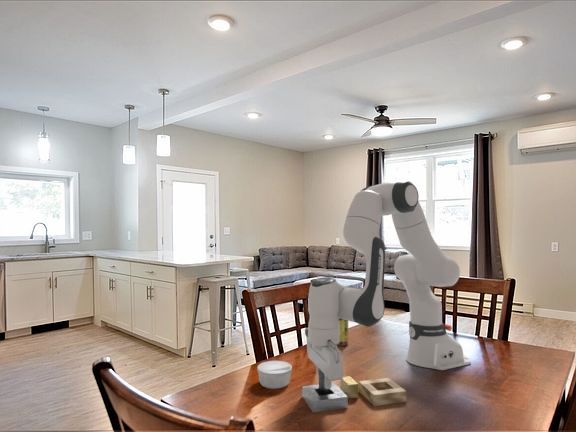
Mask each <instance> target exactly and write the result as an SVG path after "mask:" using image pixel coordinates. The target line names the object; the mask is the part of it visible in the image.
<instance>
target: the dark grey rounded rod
mask: <svg viewBox="0 0 576 432" xmlns="http://www.w3.org/2000/svg"><path fill="white" fill-rule="evenodd" d="M323 381H325V376H324V373H323V372H322V371H321V370H320V369H319V380H318V384H319V396H321V395H329V394H330V389H325V387H324V383H323Z"/></svg>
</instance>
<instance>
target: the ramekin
mask: <svg viewBox="0 0 576 432" xmlns="http://www.w3.org/2000/svg"><path fill="white" fill-rule="evenodd" d="M256 370H257V373H258V374H257V375H258V381H259V383H260V385H261V386H262V387H264V388H266V389H270V390H271V389H272V390H274V389H281V388H285V387H287V386H288V385H289V383H290V382H291V375H292V370H293V366H292V365H291V364H290V363H289V362H287V361H282V360H268V361H264V362H261V363H259V364H258V365H257V369H256Z"/></svg>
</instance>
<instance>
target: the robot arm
mask: <svg viewBox="0 0 576 432" xmlns="http://www.w3.org/2000/svg"><path fill="white" fill-rule="evenodd" d="M349 205H350V206H349V208H348V211H347V215H346V217H345V221H344V224H343V229H342V231H343V232H342V235H343V238H344V241H345V242H346V244H348V246H349V247H350V248H352V249H353V250H355V251H357V252H358V253H360V254H363V255H364V258H365V260H366V266H365V278H364V286H363V288H356V287H350V286H349V287H348V286H345V285H342V284H341V283H339V282H338V281H337V279H336V278H333V277H332V276H331V277H330V276H329V277H328V276H325V277H319V278H315V279H314V280H312V281H311V283H310V285H309V289H308V290H309V291H308V298H307V301H308V302H307V303H308V305H307V307H308V308H307V311H308V315H309V320H308V327H305V329H304V335H305V336H306V351H307V355H308V358H309V360H310V361H311V362H312V363H313V364H314V365H315V369H316V371H317V380H318V381H319V369H320V370H321V371H322V372H323V373H324V376H325V381H323V383H324V387H325V389H330V388H331V383H333V382H339V381H341V380H342V379H343V377H345V375H344V373H345V372H344V363H343V362H344V361H343V354H342V351H341V350H340V349H339V348H338V345H337V344H338V343H339V342H340V330H339V321H338V320H339V319H343V320H347V321H348V322H352V323H356V324H358V325H362V326H364V327H367V328H369V327H373V326H375V325H376V324H377V323H379V321H381V320H382V318H383V317H384V314H385V299H384V298H385V297H384V289H385V287H384V286H385V270H386V269H385V266H386V246H385V243H384V241H383V240H382V239H381V237H380V228H381V223H382V216H390V215H391V219H392V222H393V225H394V229H395V231H396V235H397V237H398V240H399V243H400V246H401V247H402V248H403V249H404V250H405V251H407V252H408V253H410V254H404V255H400V256H397V259H395V262H394V265H393V270H394V274H395V276H396V277H397V278H398V279H399V281H400V282H401V283H402V285H403V287H404V289H405V291H406V294H407V296H408V303H409V315H410V316H409V319H410V320H409V321H408V322H409V323H408V333H409V334H408V335H409V344H408V350H407V355H406V358H405V360H406V362H408V363H409V364H411V365H414V366H417V367H421V368H428V369H435V370H438V371H445V370H450V369H455V368H459V367H462V366H464V367H465V366H468V365H471V360H470V358H469V357H468V356H465V355H464V350H463V347H462V345H461V344H460V342H458V341H457V340H456V339H454V338H453V337H452V336H451V335H449V334H448V333H447V331H448V332H451V331H452V330H453V326H452V325H451V324H448V323H447V324H445V323H443V309H442V308H443V305H442V301H441V299H440V298H438V296H436V295H435V294H434V292H433V291H432V289H431V287H438V288H443V287H444V288H445V287H453V286H455V284H457V282H459V279H460V275H461V270H460V265H459V264H458V263H457V261H456V260H455V259H453V258H452V257H450V256H449V255H448V254H446V253H445V252H444V251H443V250H442V249H441V247H439V245H438V244H437V242H436V241H435V239H434V238H433V236H432V234H431V231H430V228H429V224H428V222H427V218H426V216H425V212H424V210H423V208H422V206H421V203H420V201H419V191H418V189H417V187H416V186H415V184H414V183H412V181H409V180H397V181H387V182H381V183H379V184H375V185H369V186H365V187H363V188H362V189H361V190H360V191H358V192H357V193H356V194H355V195H354V197H353V199H352V201H351V203H350V204H349Z"/></svg>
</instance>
